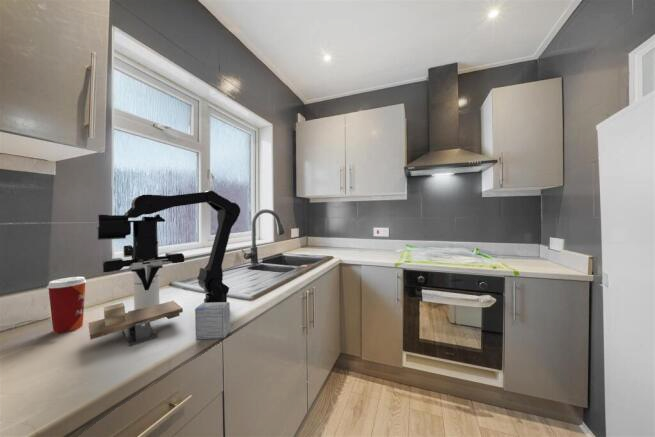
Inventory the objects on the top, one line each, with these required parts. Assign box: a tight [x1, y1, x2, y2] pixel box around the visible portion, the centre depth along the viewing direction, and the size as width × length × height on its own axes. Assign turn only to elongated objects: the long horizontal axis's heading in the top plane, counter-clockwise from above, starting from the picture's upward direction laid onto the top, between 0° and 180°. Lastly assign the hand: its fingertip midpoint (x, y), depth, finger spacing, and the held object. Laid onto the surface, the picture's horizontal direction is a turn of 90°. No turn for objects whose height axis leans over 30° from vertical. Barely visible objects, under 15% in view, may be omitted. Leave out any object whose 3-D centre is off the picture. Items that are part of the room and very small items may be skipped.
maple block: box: [103, 302, 126, 326], centre depth 64 cm, size 4×4×4 cm
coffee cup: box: [46, 276, 87, 334], centre depth 71 cm, size 8×8×15 cm
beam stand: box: [122, 309, 158, 347], centre depth 68 cm, size 6×15×5 cm, turn 47°
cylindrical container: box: [133, 252, 160, 310], centre depth 84 cm, size 7×7×25 cm
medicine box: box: [194, 301, 231, 340], centre depth 66 cm, size 8×4×9 cm, turn 92°
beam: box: [88, 300, 184, 341], centre depth 68 cm, size 20×10×3 cm, turn 137°
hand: (146, 290), depth 69 cm, fingers closed
